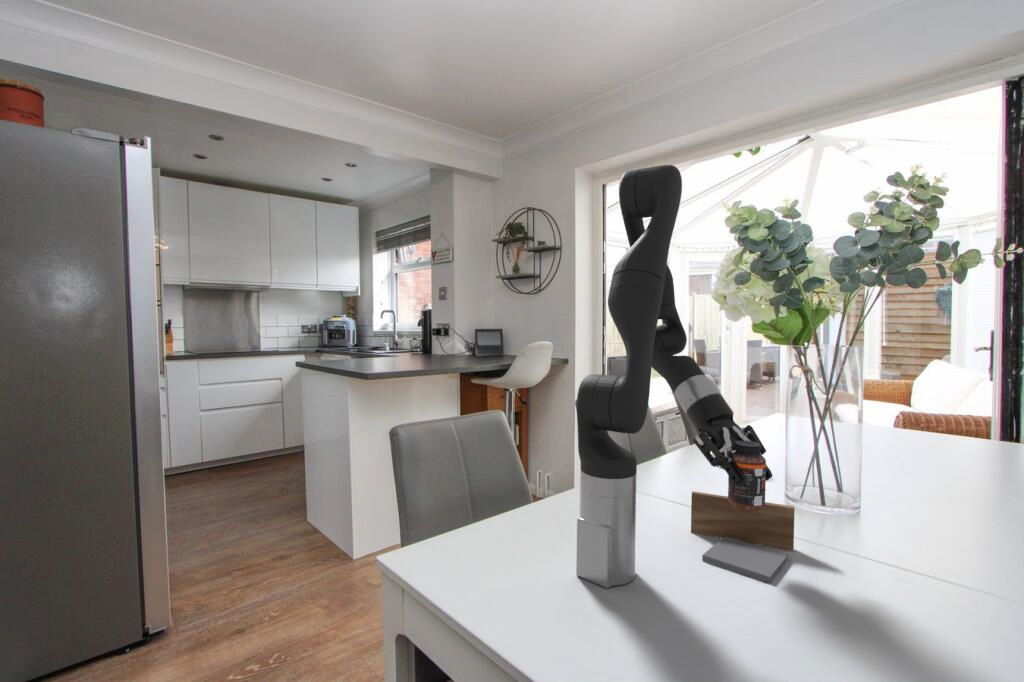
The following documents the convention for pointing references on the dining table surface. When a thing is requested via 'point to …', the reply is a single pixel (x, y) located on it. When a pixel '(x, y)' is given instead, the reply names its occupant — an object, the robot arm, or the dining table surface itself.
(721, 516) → the walnut screen
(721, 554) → the charcoal pad
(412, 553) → the dining table surface
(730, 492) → the supplement bottle
